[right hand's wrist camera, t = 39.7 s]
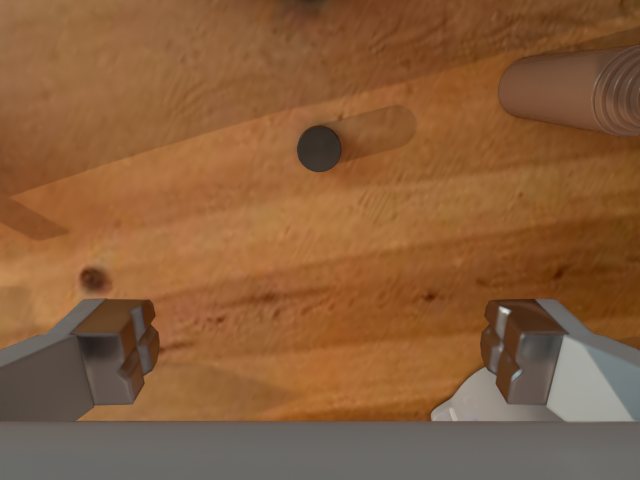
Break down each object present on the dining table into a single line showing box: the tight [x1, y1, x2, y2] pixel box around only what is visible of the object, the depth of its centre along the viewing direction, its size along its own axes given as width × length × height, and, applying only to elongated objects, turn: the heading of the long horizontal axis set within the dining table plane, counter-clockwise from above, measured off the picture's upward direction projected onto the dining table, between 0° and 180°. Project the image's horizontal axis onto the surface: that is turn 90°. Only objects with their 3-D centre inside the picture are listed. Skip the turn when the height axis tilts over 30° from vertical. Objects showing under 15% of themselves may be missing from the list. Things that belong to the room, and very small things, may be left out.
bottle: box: [498, 44, 640, 137], centre depth 27 cm, size 5×5×18 cm
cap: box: [297, 126, 341, 172], centre depth 37 cm, size 4×4×2 cm
